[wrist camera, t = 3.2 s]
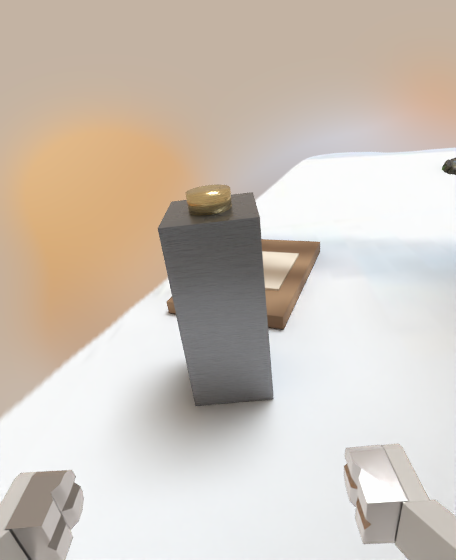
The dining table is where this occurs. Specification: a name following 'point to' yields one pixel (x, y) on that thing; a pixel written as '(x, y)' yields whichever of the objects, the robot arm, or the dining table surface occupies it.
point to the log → (450, 166)
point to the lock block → (219, 293)
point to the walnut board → (282, 276)
